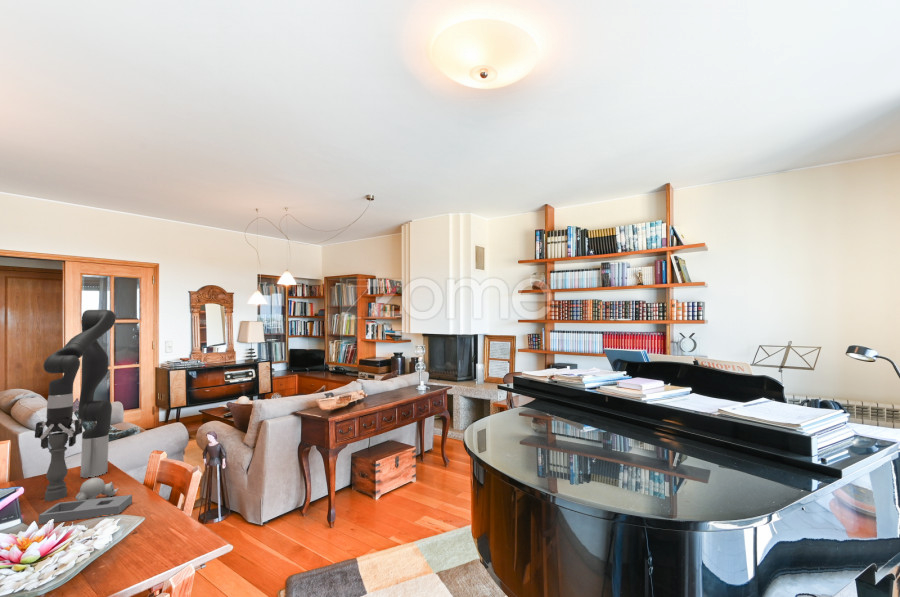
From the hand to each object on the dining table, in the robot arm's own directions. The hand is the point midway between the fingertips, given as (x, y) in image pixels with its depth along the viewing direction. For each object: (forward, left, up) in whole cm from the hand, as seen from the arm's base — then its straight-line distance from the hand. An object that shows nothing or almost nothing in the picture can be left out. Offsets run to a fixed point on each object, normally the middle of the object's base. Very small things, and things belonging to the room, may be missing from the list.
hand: (58, 447), depth 160 cm
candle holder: (0, 0, -20) cm, 20 cm away
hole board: (+19, +20, -20) cm, 34 cm away
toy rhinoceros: (+7, +17, -20) cm, 27 cm away
